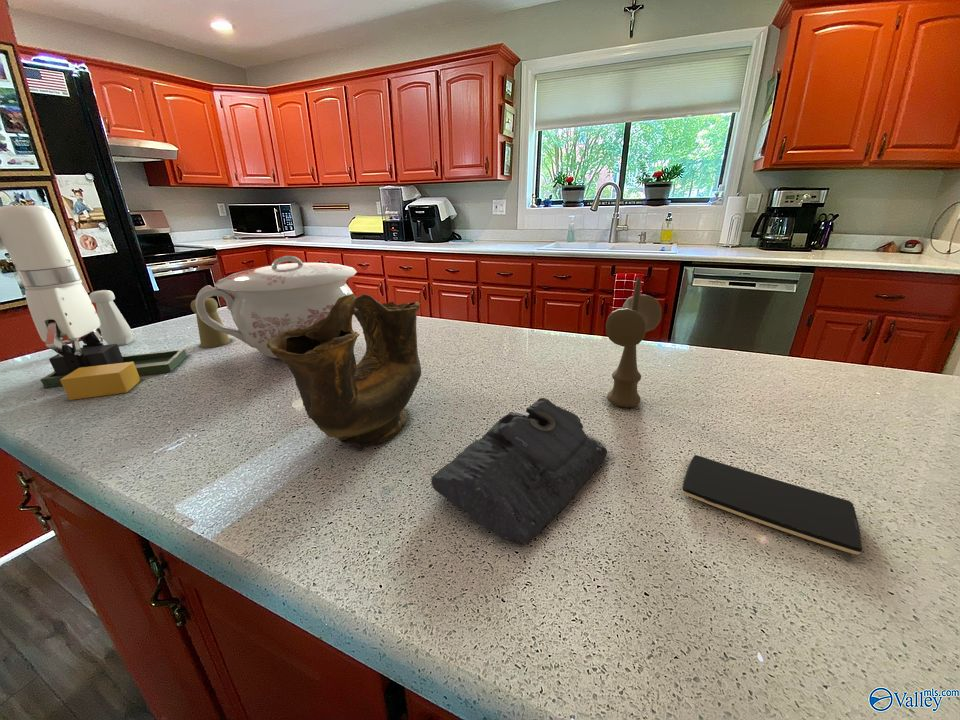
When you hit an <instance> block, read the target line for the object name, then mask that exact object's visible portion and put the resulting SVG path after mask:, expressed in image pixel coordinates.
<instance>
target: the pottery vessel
mask: <svg viewBox="0 0 960 720" xmlns="http://www.w3.org/2000/svg"><path fill="white" fill-rule="evenodd" d="M420 305H421V303H420V302H418V301H414V302H403V303H400V304H396V303H395V302H394V301H390V302H387V303H386V302H379V301H378V300H376V299H375V298H374V297H372V296H371V295H369V294H367V293H362V294H361V295H358V296H356V295H355V293H353V294H350V295H347V296H343V297H340V298H339V299H338V300H337V301H336V303H335V305H334V306H333V307H332V308H331V310H330V313H329V315H328V316H327V317H326V318H323V319H321V320H320V321H318V322H317V323H315V324H313V325H311V326H309V327H307V328H298V329H295V330H289V331H285V332H282V333H280V334H278V336H276V337H277V338H275V337H273V338H269V339H268V340H267V341H268V343H267V347H268V348H270V350H271V352H272V353H273V354H274V355H275V356H276V357H278V358H277V359H279V360H281V362H283V364H284V365H286V366H287V368H288V369H289V370H290V372H291V374H292V375H293V378H294V381H295V385H296V387H297V390H298V392H299V396H300V398H301V401H302V407H303V408H304V410H305V412H306V415H307V416H308V419H311V420H312V422H314V424H315V425H316V426H317V427H318V429H319V430H320V431H321V432H322V433H323V434H325V435H326V436H327V437H329V438H336V439H337V440H338V442H341V443H342V444H345V445H349V444H351V445H352V446H355V445H356V446H359V447H367V446H371V445H374V444H375V445H376V444H380V443H383V442H384V441H387V440H389V439H390V438H392V437H393V436H395V435H396V434H398V433H399V432H400V431H401V430H402V428H404V427H405V425H406V424H407V423H408V413H407V411H406V406H407V405H408V404H409V402H410V400H411V398H412V396H413V394H414V392H415V390H416V387H417V385H418V383H419V381H420V378H421V375H422V365H421V362H420V357H419V351H418V333H417V332H418V331H417V319H418V316H417V315H418V311H419V309H420ZM352 316H354V318H356V320H357V322H358V323H359V325H360V327H361V329H362V334H363V336H364V341H365V345H366V347H365V353H364V355H363V357H362V358H360V361H359V362H358V363H357V360H356V355H355V351H354V350H355V348H354V347H355V345H356V343H357V340H358V337H359V336H360V333H358V332H357V331H356V330H354V328H353V323H352Z"/></svg>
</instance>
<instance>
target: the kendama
mask: <svg viewBox="0 0 960 720" xmlns="http://www.w3.org/2000/svg"><path fill="white" fill-rule="evenodd" d="M633 289H634V290H633V295H632V296H629V297H628V298H627V299H626V300H625V302H624V303H623V305H622V307H621V308H617V309H615V310H613V311H611V313H610V314H609V315H608V317H607V319H606V323H605V334H606V335H607V338H608V339H609V341H611V342H612V343H613V344H614V345H617V346H620V347H623V350H622V353H621V356H620V361H619V363H618V365H617V367H616V369H615V370H614V371H612V374H611V378H612V379H613V386H612V389H611V390H610V391H608V393H607V395H606V399H607V400H608V402H609V403H610V404H613V405H615V406H617V407H621V408H634V407H637V406H638V405H639V404H641V401H642V399H641V396H640V394H639V392H638V384H639V382H640V381H641V380H642V374H641V373H640V372H639V369H638V361H637V359H638V358H637V345H639V344H640V343H641V342H642V341H643V340H644V339H645V336H646V333H648V332H650V331H654V330H656V328H657V327H658V326H659V324H660V322H661V320H662V316H663V313H662V312H663V311H662V310H663V309H662V306H661V304H660V302H659V300H658V299H656V298H655V297H654V296H651V295H647V294H641V291H642V278H641V277H640V276H638V277H637V278H636V280H635V284H634V288H633Z"/></svg>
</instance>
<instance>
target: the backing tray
mask: <svg viewBox="0 0 960 720" xmlns="http://www.w3.org/2000/svg"><path fill="white" fill-rule="evenodd" d="M122 357H123V359H124V362H134V364H135V367H136V369H137V372H138V374H139V377H141V376H148V375H157V374H164V373H165V374H166V373H171V372H173V370H174V369H175V368H177V366H179V364H180V363H182V362H183V361H184V360H185V359H186V358H187V357H188V354H187V351H186V349H185V348H183V349H182V348H181V349H174V350H165V351H164V350H163V351H156V352H155V351H154V352H147V353H145V352H144V353H138V354H129V355H122ZM124 362H123V363H124ZM65 376H67V375H64V376H57V375H56V373H55V371H54V370H53V372H51V373H49V374H47V375H46V376H43V377H42V378H40V382H41V385H42V386H43V388H53V387H61V386H63V385H62V383H61V381H60V379H62V378H63V377H65Z"/></svg>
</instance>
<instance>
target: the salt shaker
mask: <svg viewBox="0 0 960 720" xmlns="http://www.w3.org/2000/svg"><path fill="white" fill-rule="evenodd" d="M89 298H90V300H91V302H92V303H94V304H95V306H96V312H97V315H98V318H99V320H100V321H101V328H100V330H101V337H102V338H103V341H104V342H105V343H107V345H110V344H117V345H118V347H119V346H123V345H127V344H130V343H132V342H133V336H134V332H133V330H132V328H131V327H130V325H129V323H128V322H127V320H126V318H125V317H124V316H123V314H122V313H121V311H120V309H119V308H118V306H117V305H116V302H114V300H116V296H115V294H114V292H113V291H112V290H107V289H101V290H95V291H92V292H90V293H89Z"/></svg>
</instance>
